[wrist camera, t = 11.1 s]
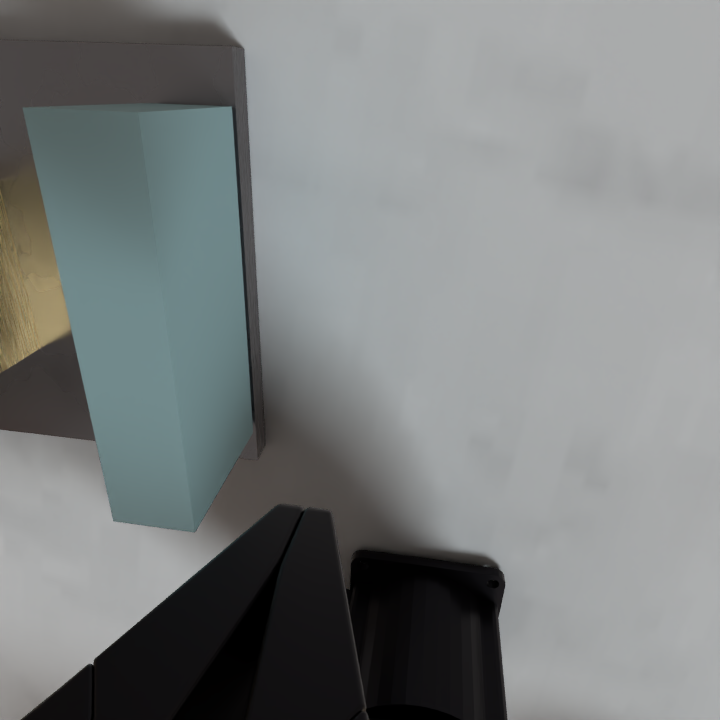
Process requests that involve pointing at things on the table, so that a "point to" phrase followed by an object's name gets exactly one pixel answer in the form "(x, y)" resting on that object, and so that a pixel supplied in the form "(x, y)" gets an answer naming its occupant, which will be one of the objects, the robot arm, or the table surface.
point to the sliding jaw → (151, 295)
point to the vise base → (28, 217)
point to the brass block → (13, 302)
